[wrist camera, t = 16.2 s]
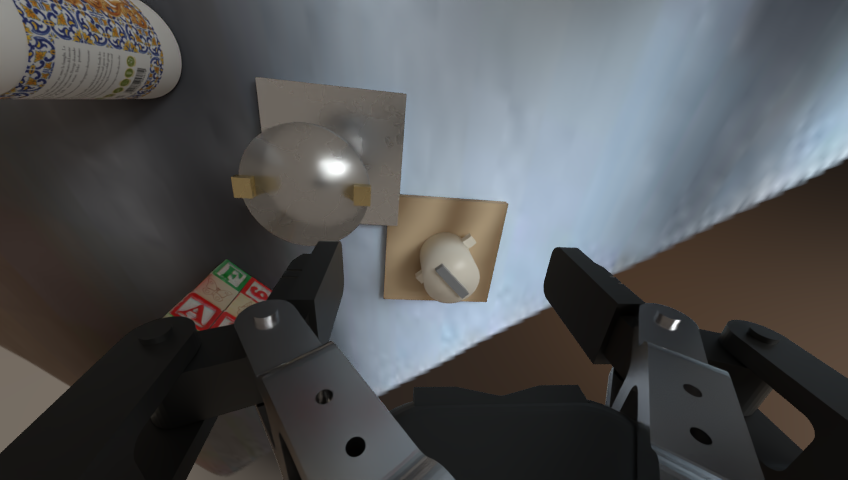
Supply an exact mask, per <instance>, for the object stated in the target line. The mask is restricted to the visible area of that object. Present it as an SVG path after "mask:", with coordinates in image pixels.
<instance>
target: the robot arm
mask: <svg viewBox="0 0 848 480" xmlns="http://www.w3.org/2000/svg"><path fill="white" fill-rule="evenodd" d="M343 288H344V273H343V257H342V244H341V242H340V241H318V243H317V245H316V247H315V248H314V250H313V252H312V254H302V255H300V256H299V257H297V258H296V259H294V260H293V261H292V262H291V263H290V265H289V266H288V268H287V271H285V272H284V274H283V275H282V278H280V280H279V282H278V283H277V285H276V286H275V288H274V289H273V291H272V292H271V294H270V295H269V297H268V298H267V300H266V301H261V302H258V303H255V304H253V305H251V306H249V307H247V308H246V309H244V310H243V311H241V312H240V313H239V314H238V316H237V317H236V319H235V321H234V324H230V325H226V326H221V327H216V328H211V329H206V330H201V331H197V329H196V326H195V323H194V321H193V320H192V319H190V318H187V317H182V316H172V317H165V318H161V319H157V320H154V321H151V322H148V323H146V324H144V325H141V326H139V327H137V328H136V329H134V330H132V331H131V332H129V333H128V334H127V335H125V336H124V337H123V338H122V339H121V340H120V341H119V342H118V343H117V344H116V345H115V346H113V347H112V348H111V349H110V350H109V351H108V352H107V353H106V354H105V355H104V356H103V357H102V358H101V359H100V360H99V361H98V362H97V363H95V364H94V365H93V366H92V367H91V368H90V369H89V370H88V371H87V372H86V373H85V374H84V375H83V376H82V377H81V378H80V379H79V380H77V381H76V382H75V383H74V384H73V385H72V386H71V387H70V388H69V389H68V390H67V391H66V392H65V393H64V394H63V395H62V396H60V397H59V398H58V399H57V400H56V401H55V402H54V403H53V404H52V405H51V406H50V407H49V408H48V409H47V410H46V411H45V412H44V413H42V414H41V415H40V416H39V417H38V418H37V419H36V420H35V421H34V422H33V423H32V424H31V425H30V426H29V427H28V428H27V429H26V430H24V432H22V434H20V435H19V436H18V437H17V438H16V439H15V440H14V441H13V442H12V443H11V444H10V445H9V446H8V447H7V448H5V450H3V451H2V452H1V453H0V480H186V479H187V477H188V475H189V473H190V471H191V469H192V467H193V465H194V463H195V461H196V459H197V457H198V455H199V453H200V451H201V449H202V447H203V445H204V443H205V441H206V439H207V437H208V435H209V433H210V431H211V429H212V427H213V425H214V423H215V421H216V419H217V417H218V416H219V415H222V414H225V413H229V412H232V411H236V410H239V409H242V408H246V407H249V406H253V405H255V407H256V409H257V412H258V414H259V417H260V419H261V422H262V424H263V427H264V429H265V432H266V434H267V437H268V439H269V442H270V444H271V447H272V449H273V452H274V454H275V457H276V459H277V462H278V465H279V468H280V471H281V474H282V477H283V480H848V378H846V377H844V376H843V375H841V374H840V373H838V372H837V371H836V370H834V369H832V368H831V367H829V366H828V365H826V364H825V363H823V362H822V361H820V360H819V359H817V358H816V357H814V356H813V355H811V354H810V353H808V352H807V351H805V350H804V349H802V348H801V347H799V346H798V345H796V344H795V343H793V342H792V341H790V340H789V339H787V338H786V337H784V336H782V335H781V334H779V333H776V332H775V331H773V330H771V329H768V328H766V327H764V326H761V325H758V324H755V323H752V322H748V321H742V320H731V321H729V322H728V323H727V325H726V326H725V328H724V330H723V332H722V333H715V332H711V331H706V330H701V329H699V328H698V326H697V324H696V323H695V322H694V321H693V320H692V319H690V318H689V317H688V316H686V315H685V314H683V313H681V312H679V311H677V310H675V309H673V308H670V307H667V306H664V305H660V304H654V303H645V302H643V301H642V300H641V299H640V298H639V297H638V296H637V295H635V294H634V293H633V292H632V291H631V290H630V289H628V288H627V287H626V286H625V285H624V284H621V282H620V281H619V280H618V279H617V278H615V277H613V275H612V274H611V273H610V272H608V271H607V270H606V269H605V268H604V267H602V266H600V265H598V264H596V263H594V262H593V261H592V260H591V259H590V258H589V257H587V256H586V255H585V254H584V253H583V252H582V251H581V250H579V249H578V248H566V247H557V248H555V249H554V250H553V252H552V255H551V258H550V262H549V266H548V269H547V273H546V277H545V280H544V294H545V297H546V298H547V300H548V301H549V303H550V304H551V306H552V307H553V308H554V310H555V311H556V312H557V314H558V315H559V316H560V318H561V319H562V321H563V322H564V324H565V325H566V326H567V328H568V329H569V331H570V332H571V333H572V335H573V336H574V338H575V339H576V341H577V342H578V343H579V345H580V346H581V348H582V349H583V350H584V352H585V353H586V355H587V356H588V357H589V359H590V360H591V362H592V363H593V364H611V365H612V366H613V367H612V370H611V372H610V375H609V380H608V388H607V396H606V404H605V405H603V404H600V403H597V402H594V401H591V400H587V399H586V397H585V396H584V394H583V393H582V391H581V389H580V387H579V386H578V385H548V386H546V385H544V386H543V385H542V386H536V387H532V388H529V389H525V390H522V391H518V392H515V393H511V394H508V395H504V396H498V395H492V394H487V393H483V392H478V391H473V390H469V389H464V388H459V387H414V393H413V402H410V403H407V404H404V405H402V406H399V407H397V408H395V409H393V410H391V411H388V410H387V408H386V407H385V406H384V404H383V403H382V402H381V401H380V399H379V398H378V397H377V396H376V394H375V393H374V392H373V391H372V389H371V388H370V387H369V385H368V384H367V383H366V382H365V380H364V379H363V378H362V377H361V375H360V374H359V373H358V372H357V370H356V369H355V368H354V366H353V365H352V364H351V363H350V361H349V360H348V359H347V358H346V356H345V355H344V354H343V353H342V351H341V350H340V349H339V348H338V346H337V345H336V344H335V343H334V342H332V341H330V342H329V339H330V335H331V332H332V329H333V325H334V322H335V318H336V315H337V312H338V308H339V305H340V302H341V298H342V295H343ZM772 389H774V390H775V391H776V392H778V393H779V394H780V395H781V396H782V397H784V398H785V399H786V400H787V401H788V402H790V403H791V404H792V405H793V406H794V407H796V408H797V409H798V410H799V411H800V412H802V413H803V414H804V415H805V416H806V417H807V418H808V419H809V420H810V422H811V423H812V425H813V427H814V430H815V438H814V440H813V441H812V442H811V443H810V445H809V446H808V447H807V448H806V449H805V450H804V451H803V450H802V449H800V448H799V447H798V446H797V445H796V444H795V443H794V442H793V441H791V439H790V438H789V437H787V436H786V435H785V434H784V433H783V432H782V431H781V430H780V429H779V428H778V427H777V426H776V425H774V423H772V422H771V421H770V420H769V419H768V418H767V417H766V416H765V415H764V414H763V413H762V412H761V411H760V410H759V409H757V408H758V407H759V406H760V405H761V403H762V402H763V401H764V399H765V398H766V397H767V396H768V394H769V393H770V392H771V391H772Z"/></svg>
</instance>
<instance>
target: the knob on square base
mask: <svg viewBox="0 0 848 480" xmlns="http://www.w3.org/2000/svg"><path fill="white" fill-rule="evenodd" d="M255 79H256V87H257V96H258V105H259V114H260V122H261V131H262V133H260V134H259V135H258V136H256V137H255V138H254V139H253V140H252V141H251V143H250V144H249V145H248V146H247V148H246V150H245V152H244V153H243V156H242V159H241V162H240V167H239V175H234V176H232V177H231V181H232V187H233V193H234V198H243V200H244V202H245V204H246V206H247V208H248V209H249V211H250V212H251V214H252V215H253V217H254V218H255V219H256V220H257V221H258V222H259V223H260V224H261V225H262V226H263V227H264V228H265V229H266V230H268V231H269V232H270V233H272V234H274V235H275V236H277V237H279V238H281V239H283V240H285V241H288V242H291V243H294V244H299V245H305V246H316V245H317V243H318V241H339V240H341V239H343V238H344V237H346V236H347V235H349V234H350V233H351V232H352V231H353V230H355V229H356V228H357V226H358V225H359V224H371V225H388V226H397V225H398V211H399V196H400V181H401V167H402V152H403V137H404V122H405V108H406V94H403V93H394V92H385V91H376V90H367V89H358V88H349V87H340V86H331V85H322V84H313V83H304V82H295V81H286V80H277V79H268V78H259V77H255Z"/></svg>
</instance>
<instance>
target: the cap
mask: <svg viewBox="0 0 848 480" xmlns="http://www.w3.org/2000/svg"><path fill="white" fill-rule="evenodd" d="M475 244H476V241H475V239H474V238H473V237H472V236H471V234H470V233H469V234H467V235H466V236H465V237H463V238H461V237H459V236H458V235H456V234H453V233H447V232H444V233H438V234H435V235H433V236H431V237H430V238H428V239H427V240H426V241H425V242H424V244H423V245H422V247H421V250H420V263H421V270H420V271H418V272H417V273H416V274H415V276H416V279H417V280H418V281H420V282H421V283H423V282H424V287H425V290H426V292H427V293H428V294H429V296H430V297H432V298H433V299H435V300H436V301H439V302H442V303H456V302H460V301H462V300H464V299H466V298H468V297H469V296H470V295H471V294H472V293H473V292H474V291H475V290H476V288H477V286H478V284H479V279H480V274H479V270H478V268H477V266H476V264H475V262H474V259H473V257H472V255H471V253H470V251H469V248H471V247H472V246H473V245H475Z"/></svg>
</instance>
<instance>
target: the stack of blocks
mask: <svg viewBox="0 0 848 480" xmlns="http://www.w3.org/2000/svg"><path fill="white" fill-rule="evenodd" d="M271 292H272V290H270V289H269V288H268V287H266V286H265V285H263V284H262V283H260V282H259V281H258V280H256V279H255V278H253V277H251V276H250V275H248V274H247V273H246V272H244V271H243V270H241V269H240V268H239V267H237V266H236V265H234V264H233V263H231V262H230V261H229V260H227V259H226V260H225V261H224V262H222V263H221V264H220V265H219V266H218V267H217V268H216V269H214V270H213V271H212V272H211V273H210V274H209V275H208V276H207V277H206V278H205V279H204V280H203V281H202V282H201V283H200V284H199V285H198V286H197V287H196V288H195V289H194V290H193V291H192V292H190V293H188V294H187V295H186V296H185V297H184V298H183V299H182V300H181V301H180V302H179V303H177V304H176V305H175V306H174V307H173V308H172V309H171V310H170V311H169V312H168V313H167V314H166V315H165V316H164V317H163V318H165V317H172V316H182V317H187V318H190V319H192V320H193V321H194V323H195V326H196V329H197V331H201V330H206V329H211V328H216V327H221V326H226V325H230V324H234V321H235V319H236V317H237V316H238V314H239V313H240V312H241V311H243V310H244V309H246V308H247V307H249V306H251V305H253V304H255V303H258V302H261V301H266V300H267V298H268V297H269V295H270V294H271Z"/></svg>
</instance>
